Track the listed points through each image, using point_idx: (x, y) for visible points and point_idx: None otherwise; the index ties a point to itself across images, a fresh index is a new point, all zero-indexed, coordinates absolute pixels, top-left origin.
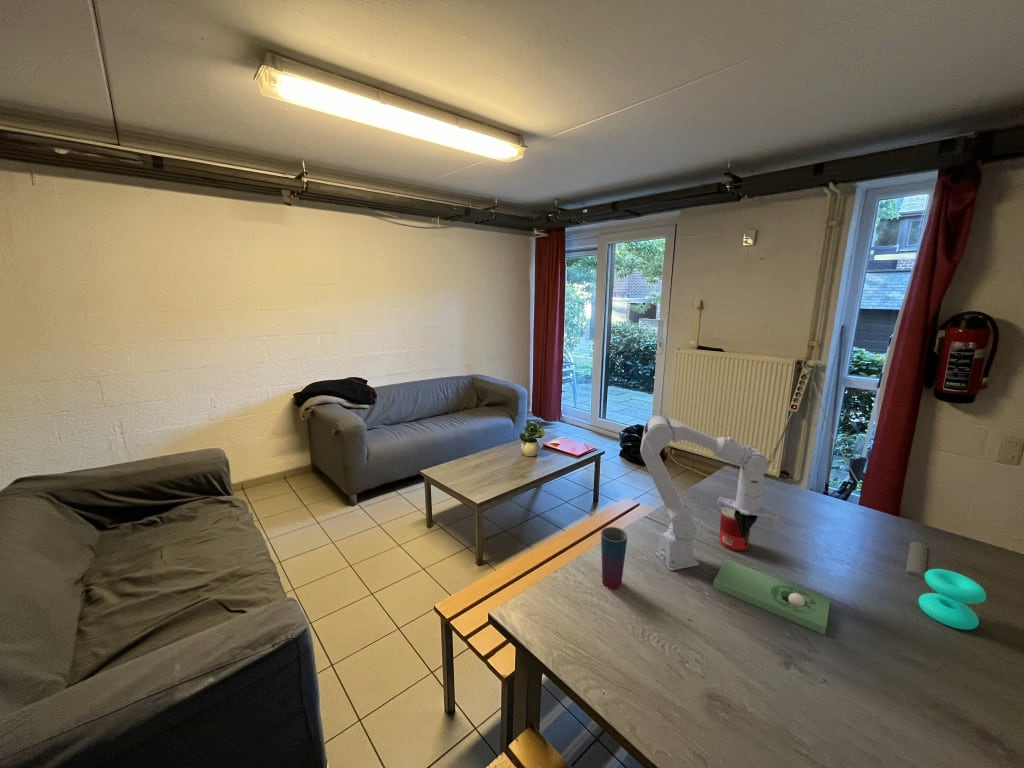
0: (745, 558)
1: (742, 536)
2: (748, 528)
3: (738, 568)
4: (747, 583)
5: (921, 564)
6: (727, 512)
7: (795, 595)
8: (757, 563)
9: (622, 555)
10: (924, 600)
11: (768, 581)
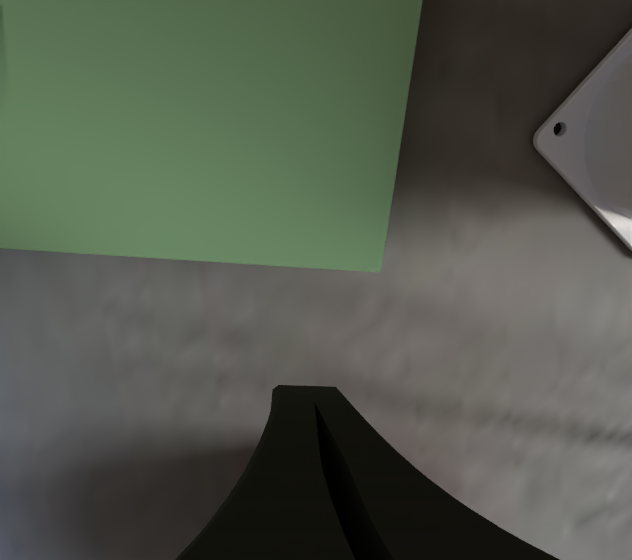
0: (259, 408)
1: (315, 391)
2: (255, 482)
3: (281, 202)
4: (187, 27)
5: None
6: None
7: None
8: (184, 400)
9: None
10: None
11: (52, 165)
